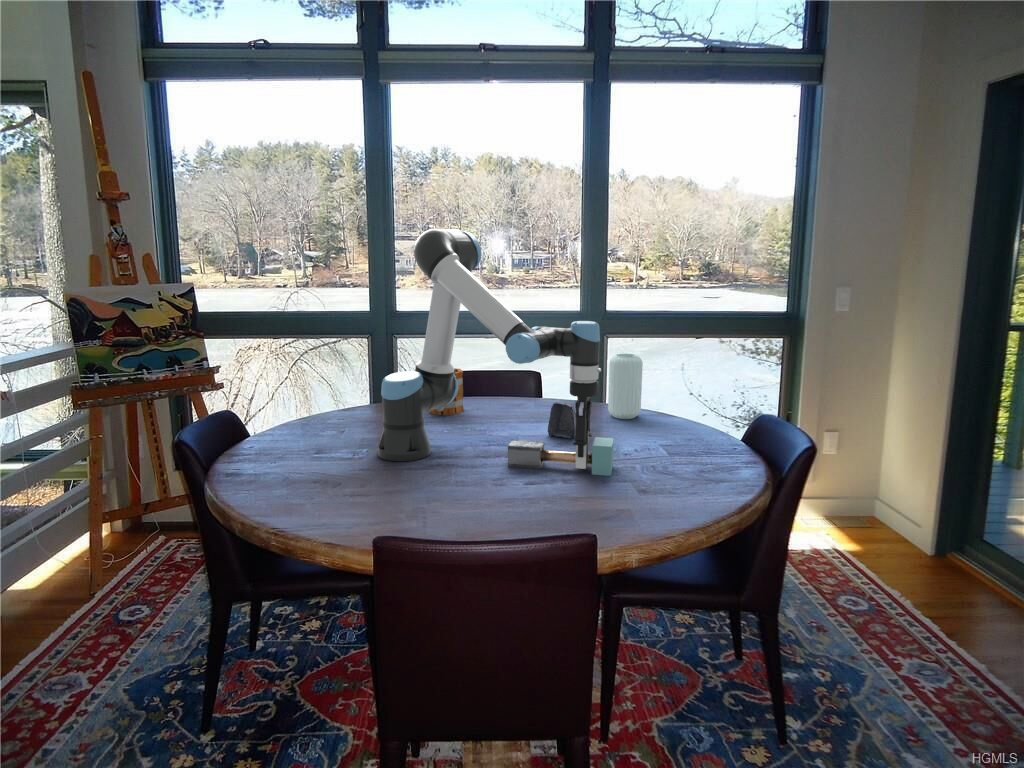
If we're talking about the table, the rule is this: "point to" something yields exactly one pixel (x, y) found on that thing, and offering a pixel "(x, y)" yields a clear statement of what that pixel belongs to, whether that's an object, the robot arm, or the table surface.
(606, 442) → the socket
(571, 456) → the hammer
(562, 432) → the stone
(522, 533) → the table surface
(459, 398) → the mug
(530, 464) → the sleeve
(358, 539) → the table surface
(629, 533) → the table surface
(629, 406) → the vase
